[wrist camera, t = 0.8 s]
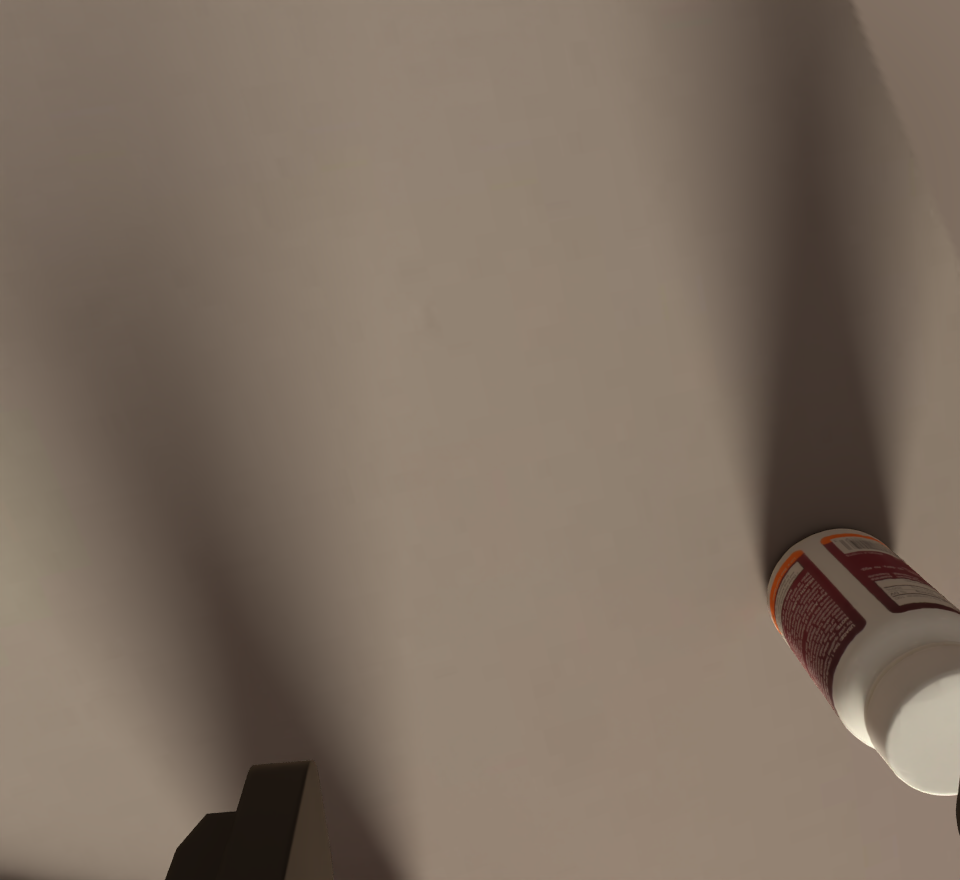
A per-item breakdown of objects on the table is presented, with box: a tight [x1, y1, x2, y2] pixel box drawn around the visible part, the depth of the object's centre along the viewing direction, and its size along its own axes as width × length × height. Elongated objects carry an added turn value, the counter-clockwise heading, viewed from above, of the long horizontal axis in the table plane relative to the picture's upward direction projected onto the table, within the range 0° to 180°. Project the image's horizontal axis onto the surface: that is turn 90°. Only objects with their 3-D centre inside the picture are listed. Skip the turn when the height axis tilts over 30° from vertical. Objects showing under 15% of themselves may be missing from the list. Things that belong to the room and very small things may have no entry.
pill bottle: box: [767, 529, 960, 796], centre depth 28 cm, size 5×5×8 cm
